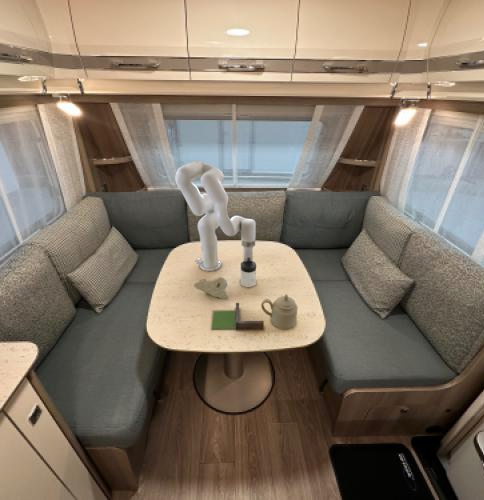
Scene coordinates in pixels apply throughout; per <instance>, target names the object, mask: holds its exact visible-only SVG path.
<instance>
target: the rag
mask: <svg viewBox="0 0 484 500" xmlns="http://www.w3.org/2000/svg"><path fill="white" fill-rule="evenodd" d="M211 330H236V310H213V316H212V324H211Z"/></svg>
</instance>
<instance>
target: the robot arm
mask: <svg viewBox="0 0 484 500" xmlns="http://www.w3.org/2000/svg"><path fill="white" fill-rule="evenodd" d="M174 175H175V176H174V181H175V184H176V186H177V188H178V189H179V191H180V192H181V194H182V195H183V197H184V200H185V202H186V203H187V205H188V207H189V209H190V211H191V213H192V214H193V215H194V216H196V217H200V216H202V217H201V218H200V219H199V220H198V222H197V225H196V226H197V231H198V234H199V241H200V253H201V257H199V258H194V262H195V263H196V265H199V268H200V269H201V270H203V271H206V272H215V271H216V270H219V269H220V268H221V266H222V262H221V261H220V259H219V251H218V250H219V249H218V236H217V234H216V230H217V229H218V228H220V230H221V231H222V233H223V234H224V235H226V236H227V237H235V235H237V234H238V233H239V232H240V237H241V238H240V242H241V243H240V244H241V246H242V262H243V261H244V262H247V260H248V261H253V259H254V247H255V246H256V240H257V239H256V232H257V231H256V230H257V223H256V221H255V220H254V219H252V218H245V217H244V216H240V215H234V216H232V217H231V218H230V217H229V214H228V204H229V203H228V202H229V194H227V192H226V190H225V188H224V186H223V185H222V183H223V182H224V179H225V176H224V173H223V171H222V170H220V169H219V168H218V167H215V166H213V165H211V164H208V163H206V162H204V161H200V160H195V161H191V162H188V163H186V164H184V165H182V166H180V167H179V168H177V170H176V172H175V174H174ZM199 178H200V185H202V187H203V189H204V191H205V192H206V193H205V192H204V193H201V192H200V190H199V188H198V186H196V185H195V184H194V183H193V181H195V180H197V179H199ZM203 215H204V216H203Z"/></svg>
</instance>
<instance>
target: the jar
mask: <svg viewBox="0 0 484 500" xmlns="http://www.w3.org/2000/svg"><path fill="white" fill-rule="evenodd" d="M256 284H257V263H256V262H255V261H248V260H247V262H244V261H243V260H242V261H241V263H240V285H241V286H243V287H245V288H252V287H254V286H256Z"/></svg>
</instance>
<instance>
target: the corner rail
mask: <svg viewBox="0 0 484 500" xmlns="http://www.w3.org/2000/svg"><path fill="white" fill-rule="evenodd" d="M264 326H265V321H264V320H240V303H239V302H235V331H263V330H264V329H265V328H264Z"/></svg>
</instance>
